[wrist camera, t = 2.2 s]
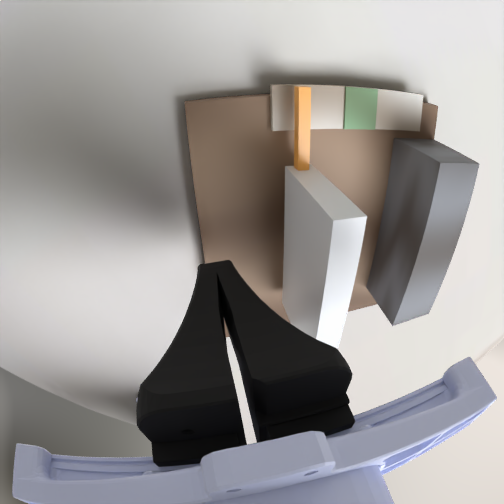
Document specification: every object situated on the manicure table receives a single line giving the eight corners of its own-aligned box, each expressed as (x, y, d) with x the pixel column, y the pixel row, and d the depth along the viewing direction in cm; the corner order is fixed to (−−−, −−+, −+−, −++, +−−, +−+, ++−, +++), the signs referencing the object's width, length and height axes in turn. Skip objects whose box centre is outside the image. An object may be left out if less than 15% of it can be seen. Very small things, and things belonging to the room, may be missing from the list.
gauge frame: (389, 292, 22) (419, 333, 18) (216, 329, 20) (227, 385, 16) (429, 94, 13) (487, 115, 10) (183, 90, 11) (184, 102, 8)
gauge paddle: (302, 298, 18) (333, 364, 14) (282, 302, 18) (310, 370, 14) (312, 85, 11) (379, 105, 7) (284, 86, 11) (341, 103, 7)
